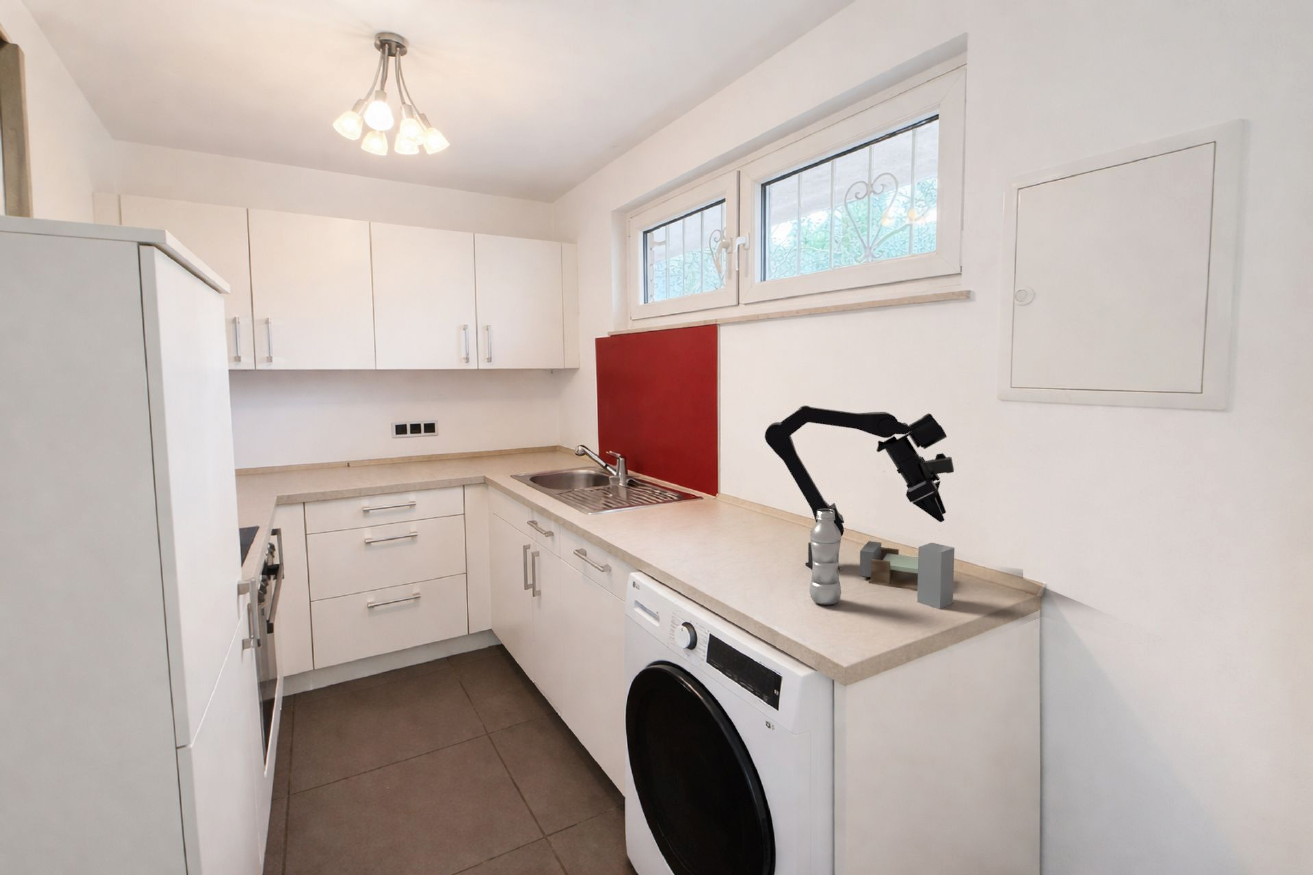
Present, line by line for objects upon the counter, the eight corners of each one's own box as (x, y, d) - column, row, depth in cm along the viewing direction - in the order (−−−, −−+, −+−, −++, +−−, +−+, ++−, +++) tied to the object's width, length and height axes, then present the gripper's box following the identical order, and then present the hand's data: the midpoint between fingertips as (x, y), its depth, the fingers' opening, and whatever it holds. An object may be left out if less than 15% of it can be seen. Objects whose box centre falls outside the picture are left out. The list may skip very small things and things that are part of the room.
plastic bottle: (846, 601, 131) (847, 509, 128) (832, 611, 126) (832, 515, 123) (818, 594, 135) (819, 505, 133) (803, 603, 130) (804, 511, 128)
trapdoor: (859, 575, 144) (860, 550, 143) (868, 564, 151) (868, 541, 151) (933, 586, 135) (933, 560, 135) (938, 574, 143) (938, 549, 142)
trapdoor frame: (868, 582, 141) (868, 559, 141) (879, 568, 151) (879, 546, 151) (942, 594, 133) (942, 569, 133) (948, 578, 143) (948, 555, 143)
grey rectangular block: (917, 601, 129) (918, 546, 128) (930, 596, 132) (931, 542, 131) (939, 609, 125) (941, 552, 124) (952, 603, 128) (954, 547, 127)
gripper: (936, 446, 133) (977, 509, 130) (940, 438, 150) (976, 494, 147) (889, 470, 138) (928, 531, 135) (898, 461, 154) (933, 515, 152)
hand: (943, 517), depth 142 cm, fingers open, 9 cm apart
